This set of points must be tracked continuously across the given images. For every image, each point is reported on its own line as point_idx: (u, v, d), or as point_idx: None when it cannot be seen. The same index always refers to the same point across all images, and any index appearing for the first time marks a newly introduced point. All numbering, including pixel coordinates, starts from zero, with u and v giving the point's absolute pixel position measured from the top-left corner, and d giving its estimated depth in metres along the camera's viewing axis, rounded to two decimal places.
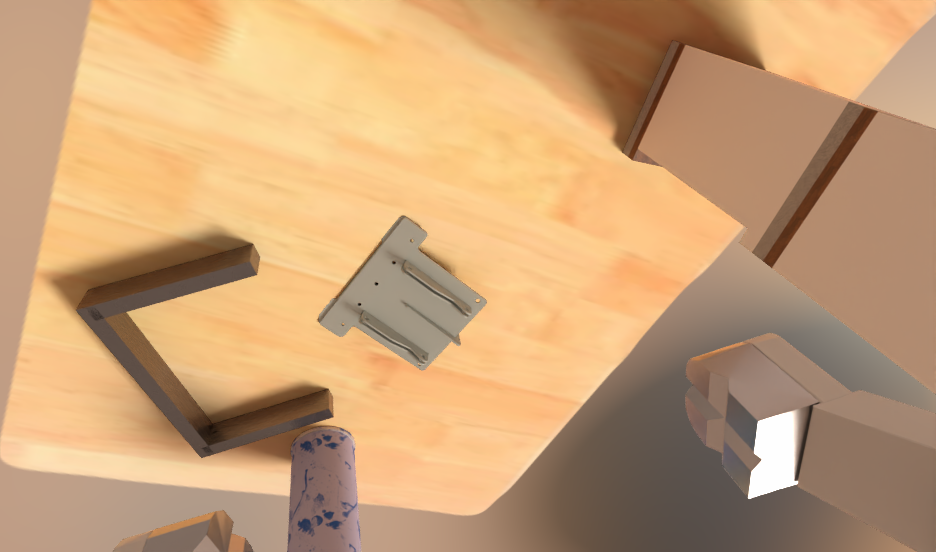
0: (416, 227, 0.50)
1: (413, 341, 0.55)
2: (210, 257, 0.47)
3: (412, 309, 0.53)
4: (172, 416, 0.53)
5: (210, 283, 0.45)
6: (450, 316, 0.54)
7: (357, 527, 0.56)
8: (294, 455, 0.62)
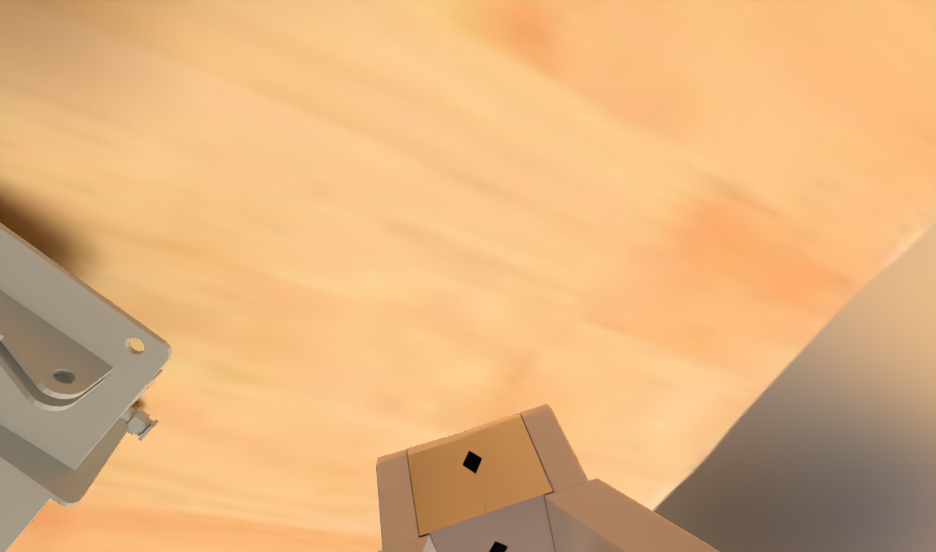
0: None
1: None
2: None
3: None
4: None
5: None
6: None
7: None
8: None
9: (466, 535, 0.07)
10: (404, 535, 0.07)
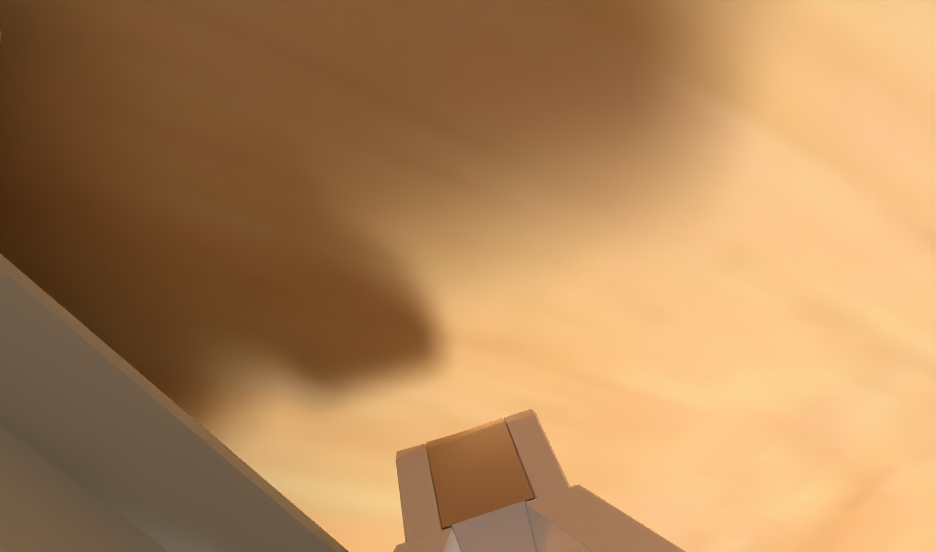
0: None
1: None
2: None
3: None
4: None
5: None
6: None
7: None
8: None
9: (488, 527, 0.07)
10: (427, 527, 0.07)
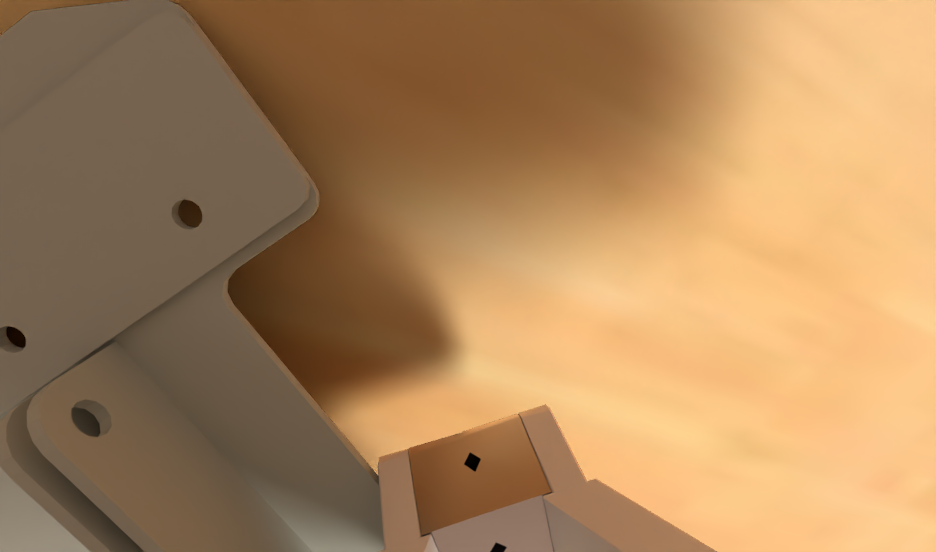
0: (247, 120, 0.06)
1: None
2: None
3: None
4: None
5: None
6: None
7: None
8: None
9: (468, 534, 0.07)
10: (406, 534, 0.07)
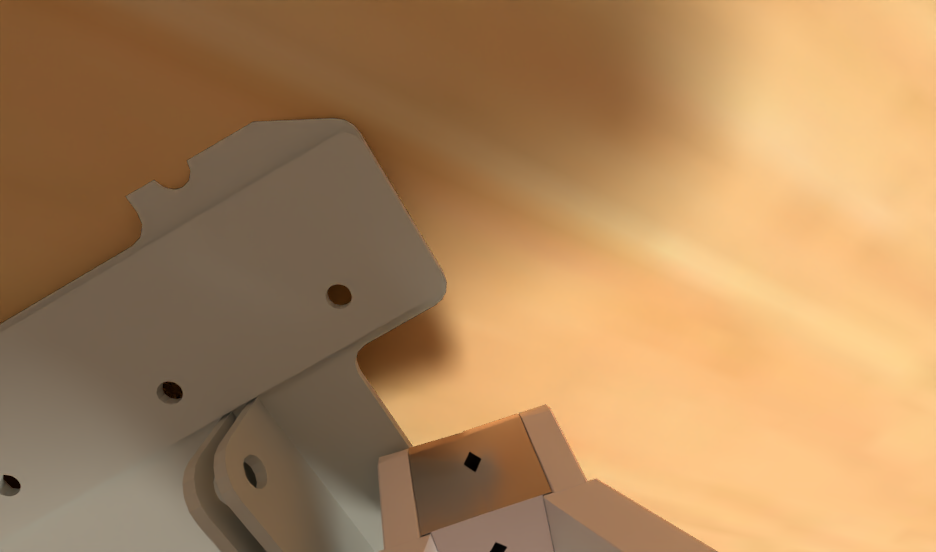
0: (400, 223, 0.07)
1: None
2: None
3: None
4: None
5: None
6: None
7: None
8: None
9: (468, 534, 0.07)
10: (406, 534, 0.07)
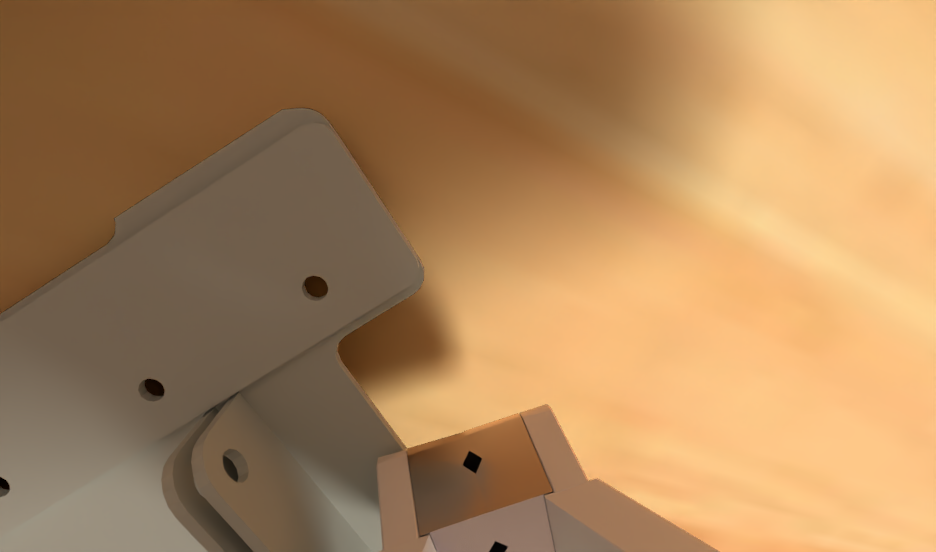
0: (373, 212, 0.07)
1: None
2: None
3: None
4: None
5: None
6: None
7: None
8: None
9: (466, 535, 0.07)
10: (404, 535, 0.07)
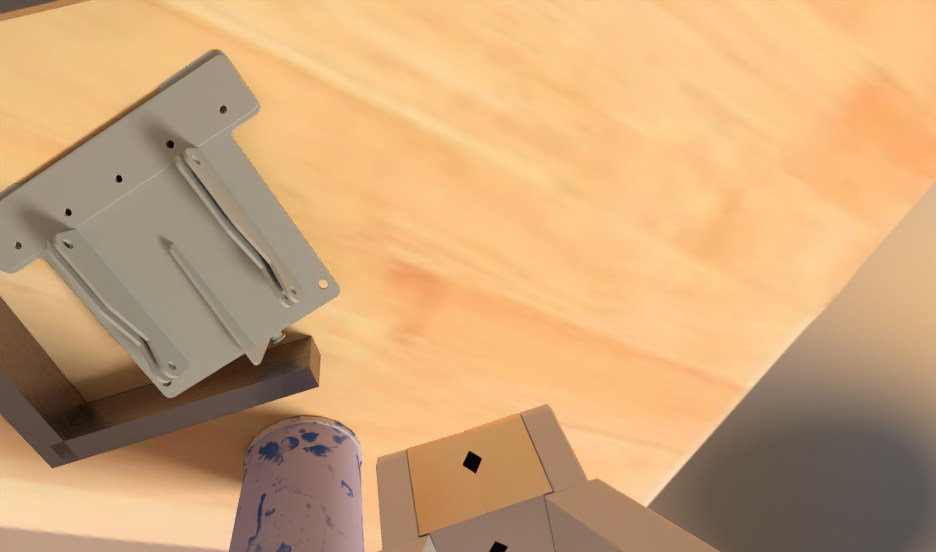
0: (240, 83, 0.24)
1: (165, 330, 0.26)
2: None
3: (179, 258, 0.25)
4: None
5: None
6: (258, 299, 0.26)
7: None
8: (247, 470, 0.33)
9: (466, 535, 0.07)
10: (404, 535, 0.07)
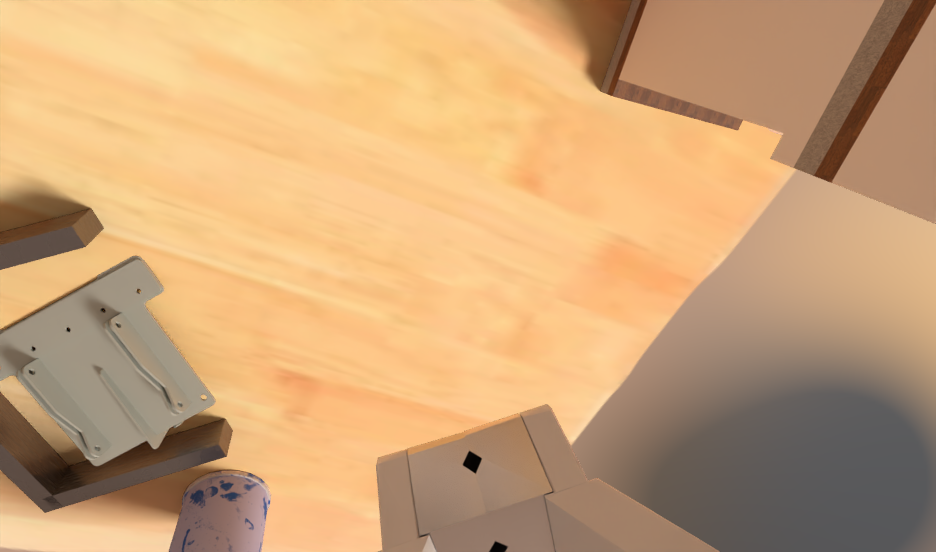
0: (150, 276, 0.37)
1: (95, 422, 0.40)
2: (29, 225, 0.34)
3: (106, 380, 0.38)
4: None
5: (17, 257, 0.32)
6: (159, 405, 0.40)
7: None
8: (182, 509, 0.47)
9: (466, 535, 0.07)
10: (404, 535, 0.07)
